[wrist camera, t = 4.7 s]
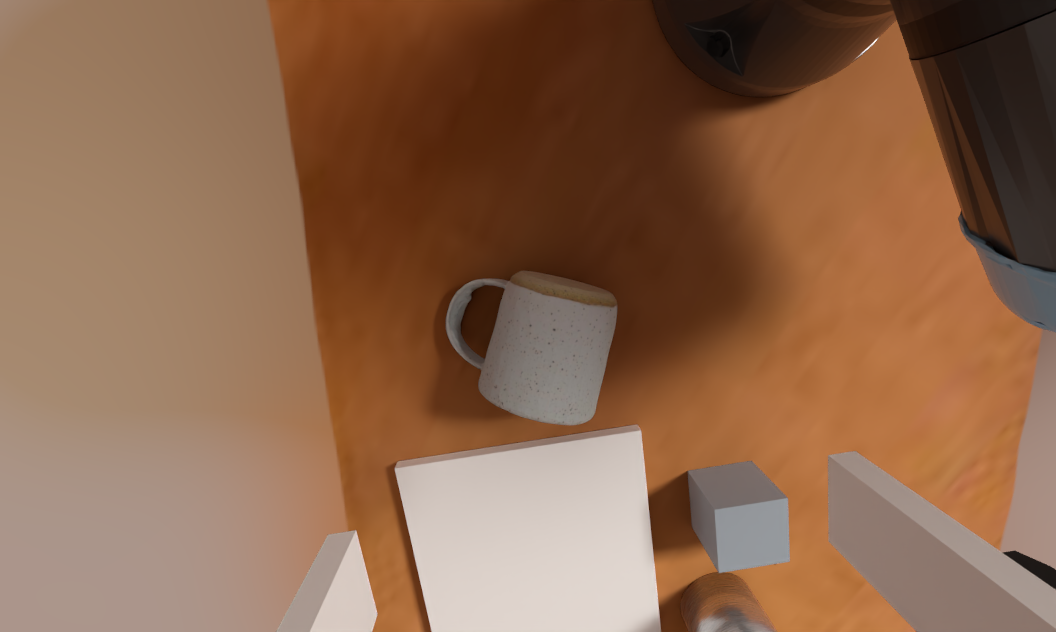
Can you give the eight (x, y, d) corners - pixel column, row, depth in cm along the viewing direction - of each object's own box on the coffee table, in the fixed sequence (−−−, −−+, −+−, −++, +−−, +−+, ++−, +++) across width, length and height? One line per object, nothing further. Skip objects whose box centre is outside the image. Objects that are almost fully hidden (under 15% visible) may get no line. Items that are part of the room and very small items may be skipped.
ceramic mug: (611, 283, 34) (638, 304, 26) (583, 392, 36) (602, 440, 28) (460, 251, 33) (445, 263, 26) (439, 363, 35) (419, 406, 27)
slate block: (750, 460, 38) (787, 498, 33) (753, 516, 39) (789, 561, 34) (687, 470, 38) (714, 509, 33) (691, 526, 39) (718, 573, 34)
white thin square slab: (637, 424, 36) (641, 430, 35) (657, 623, 40) (661, 633, 39) (397, 461, 36) (394, 468, 35) (441, 658, 40) (440, 669, 39)
